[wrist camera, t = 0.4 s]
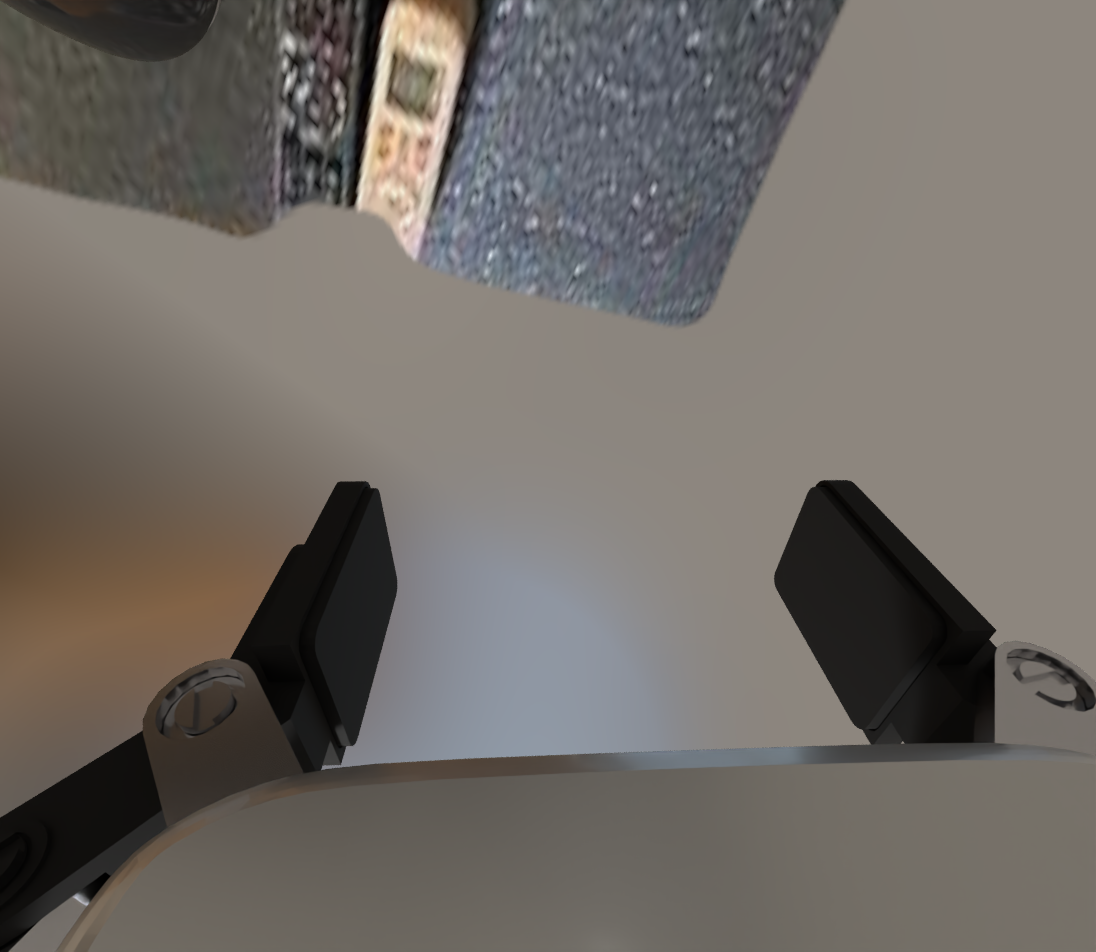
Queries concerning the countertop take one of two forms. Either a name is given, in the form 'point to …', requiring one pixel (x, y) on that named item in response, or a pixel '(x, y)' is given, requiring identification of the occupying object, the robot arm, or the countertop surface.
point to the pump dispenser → (126, 24)
